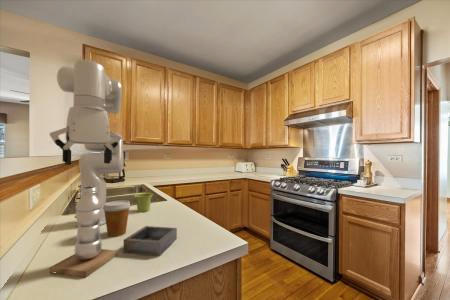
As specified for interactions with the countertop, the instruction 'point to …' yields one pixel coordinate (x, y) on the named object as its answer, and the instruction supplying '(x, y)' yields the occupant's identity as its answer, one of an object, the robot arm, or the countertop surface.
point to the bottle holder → (150, 247)
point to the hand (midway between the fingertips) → (88, 163)
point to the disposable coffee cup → (116, 217)
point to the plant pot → (143, 202)
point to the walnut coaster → (83, 264)
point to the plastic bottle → (88, 224)
